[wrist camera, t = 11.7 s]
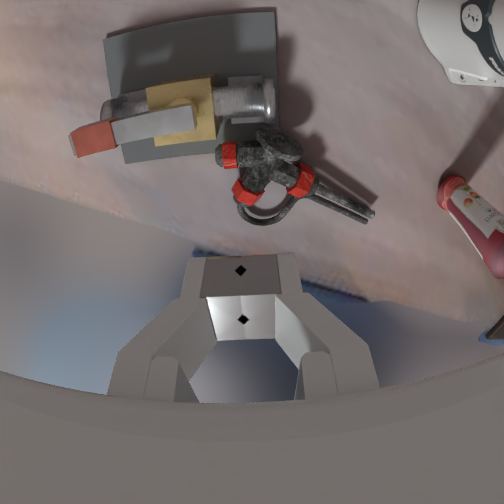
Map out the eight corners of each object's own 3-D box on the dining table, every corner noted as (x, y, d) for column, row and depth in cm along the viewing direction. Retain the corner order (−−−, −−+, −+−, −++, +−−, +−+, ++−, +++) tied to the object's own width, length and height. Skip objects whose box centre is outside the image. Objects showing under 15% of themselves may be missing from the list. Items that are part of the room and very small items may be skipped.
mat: (273, 12, 27) (274, 12, 27) (279, 147, 39) (279, 148, 39) (105, 39, 28) (103, 39, 27) (127, 162, 40) (125, 164, 39)
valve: (193, 187, 44) (234, 104, 34) (330, 238, 53) (385, 183, 43) (186, 216, 40) (231, 127, 30) (336, 267, 49) (398, 211, 39)
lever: (195, 97, 27) (190, 103, 25) (199, 124, 29) (195, 132, 26) (80, 125, 28) (66, 134, 25) (86, 148, 30) (74, 158, 27)
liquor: (430, 209, 45) (517, 335, 23) (434, 171, 41) (543, 293, 19) (460, 205, 44) (548, 319, 23) (466, 169, 40) (572, 279, 18)
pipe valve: (269, 69, 32) (275, 74, 26) (272, 121, 36) (277, 136, 30) (116, 90, 32) (91, 101, 26) (125, 137, 37) (103, 156, 31)
